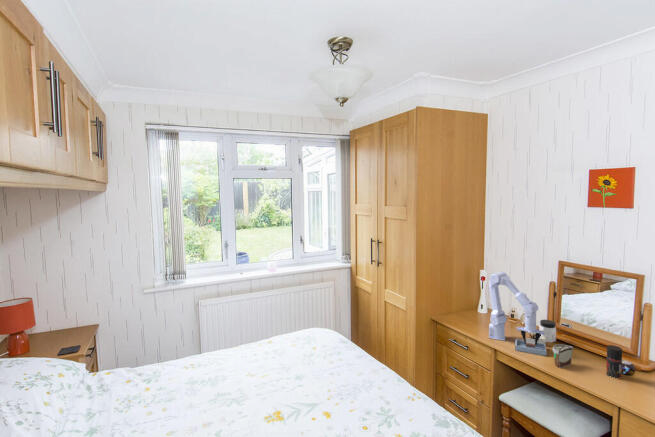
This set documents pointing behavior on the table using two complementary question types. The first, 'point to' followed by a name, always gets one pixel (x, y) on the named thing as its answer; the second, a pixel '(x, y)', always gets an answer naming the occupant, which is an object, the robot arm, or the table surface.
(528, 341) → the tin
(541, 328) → the jar
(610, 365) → the deodorant
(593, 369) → the table surface
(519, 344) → the tote
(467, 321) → the table surface
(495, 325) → the robot arm
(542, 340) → the white cube
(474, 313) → the table surface
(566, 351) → the food container
